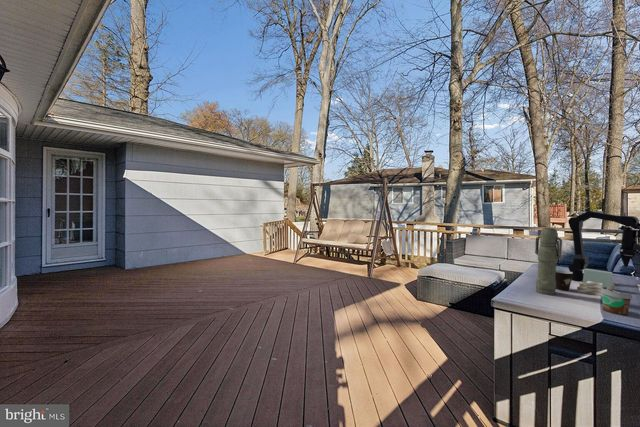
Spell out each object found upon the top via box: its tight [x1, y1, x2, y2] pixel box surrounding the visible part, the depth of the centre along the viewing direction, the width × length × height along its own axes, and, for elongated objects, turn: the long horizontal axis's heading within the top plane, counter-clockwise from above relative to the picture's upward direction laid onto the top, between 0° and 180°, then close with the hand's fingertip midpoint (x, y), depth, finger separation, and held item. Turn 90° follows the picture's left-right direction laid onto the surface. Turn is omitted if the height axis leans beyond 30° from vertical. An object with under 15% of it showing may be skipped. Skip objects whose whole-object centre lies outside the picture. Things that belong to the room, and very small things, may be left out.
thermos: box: [534, 227, 563, 296], centre depth 173 cm, size 9×12×35 cm
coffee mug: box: [555, 269, 573, 292], centre depth 181 cm, size 12×9×10 cm
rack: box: [576, 282, 615, 297], centre depth 181 cm, size 14×26×2 cm, turn 135°
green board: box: [582, 268, 613, 289], centre depth 184 cm, size 12×4×10 cm, turn 45°
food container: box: [600, 287, 633, 316], centre depth 147 cm, size 12×6×10 cm, turn 5°
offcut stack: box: [586, 281, 603, 291], centre depth 176 cm, size 8×6×5 cm
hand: (625, 265), depth 182 cm, fingers open, 9 cm apart
